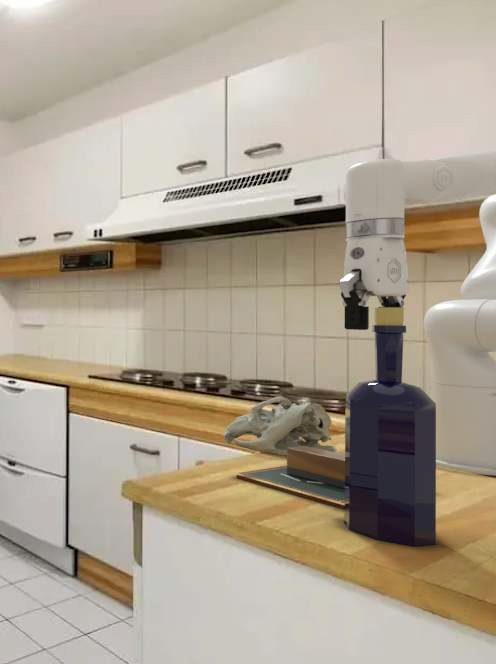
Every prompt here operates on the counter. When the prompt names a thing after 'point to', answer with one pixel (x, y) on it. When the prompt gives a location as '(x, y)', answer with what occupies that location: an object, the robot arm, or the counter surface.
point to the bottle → (390, 447)
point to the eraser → (317, 465)
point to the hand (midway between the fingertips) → (373, 329)
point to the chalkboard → (296, 485)
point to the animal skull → (282, 427)
